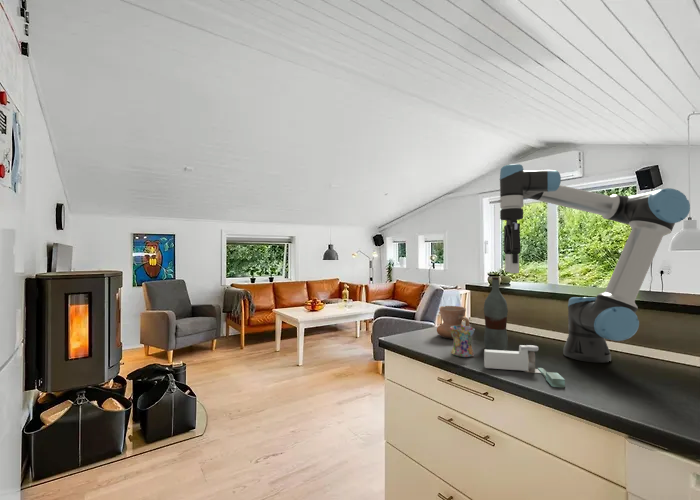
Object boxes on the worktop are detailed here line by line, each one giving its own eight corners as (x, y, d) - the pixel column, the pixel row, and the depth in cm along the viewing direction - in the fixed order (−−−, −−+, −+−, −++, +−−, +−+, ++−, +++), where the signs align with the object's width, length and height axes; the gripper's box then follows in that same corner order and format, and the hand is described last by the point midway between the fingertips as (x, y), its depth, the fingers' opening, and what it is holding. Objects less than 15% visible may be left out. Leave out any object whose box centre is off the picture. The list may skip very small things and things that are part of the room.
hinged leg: (536, 368, 120) (536, 345, 120) (540, 372, 116) (539, 348, 116) (484, 364, 124) (483, 342, 124) (485, 368, 120) (485, 345, 120)
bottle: (479, 348, 146) (479, 277, 147) (491, 345, 152) (490, 276, 152) (501, 353, 139) (500, 278, 139) (512, 349, 145) (511, 277, 145)
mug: (480, 357, 134) (480, 329, 134) (459, 359, 131) (459, 331, 131) (461, 349, 145) (461, 323, 146) (441, 351, 143) (441, 325, 143)
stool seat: (537, 359, 131) (537, 341, 131) (564, 387, 104) (564, 364, 104) (490, 356, 135) (490, 338, 135) (505, 382, 108) (505, 360, 108)
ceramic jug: (428, 335, 171) (428, 306, 170) (450, 331, 177) (450, 303, 177) (455, 344, 155) (456, 312, 154) (479, 340, 162) (479, 309, 161)
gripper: (495, 212, 136) (495, 270, 136) (506, 205, 116) (506, 273, 116) (516, 211, 134) (516, 271, 134) (530, 204, 114) (531, 274, 114)
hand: (511, 272), depth 125 cm, fingers open, 8 cm apart
